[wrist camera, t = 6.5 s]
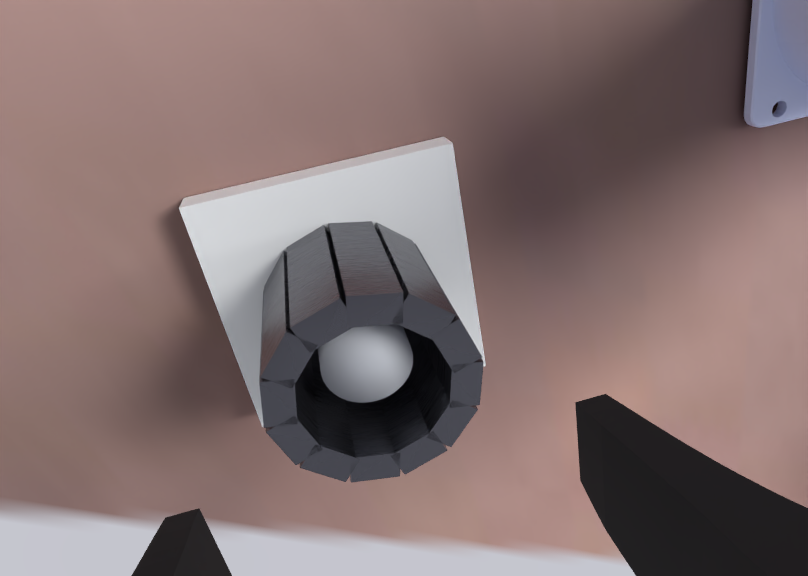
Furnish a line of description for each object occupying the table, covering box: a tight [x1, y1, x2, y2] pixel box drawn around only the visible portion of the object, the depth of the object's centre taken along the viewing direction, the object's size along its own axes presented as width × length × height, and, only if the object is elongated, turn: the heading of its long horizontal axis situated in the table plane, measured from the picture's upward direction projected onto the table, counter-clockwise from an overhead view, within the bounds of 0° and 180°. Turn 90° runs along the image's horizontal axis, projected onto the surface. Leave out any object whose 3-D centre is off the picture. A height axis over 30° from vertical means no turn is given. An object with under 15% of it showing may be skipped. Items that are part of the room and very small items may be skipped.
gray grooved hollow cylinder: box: [259, 221, 483, 482], centre depth 17 cm, size 5×5×5 cm
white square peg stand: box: [179, 137, 486, 427], centre depth 17 cm, size 8×8×5 cm
